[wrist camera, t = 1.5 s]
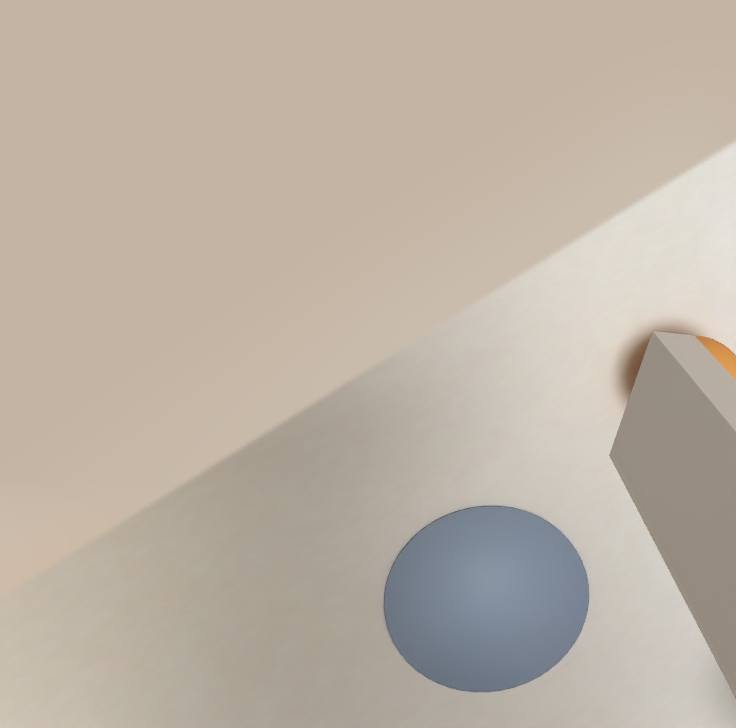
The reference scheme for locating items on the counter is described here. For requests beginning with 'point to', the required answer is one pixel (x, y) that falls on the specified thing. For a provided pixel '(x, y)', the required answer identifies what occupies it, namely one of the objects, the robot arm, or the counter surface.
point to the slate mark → (486, 599)
